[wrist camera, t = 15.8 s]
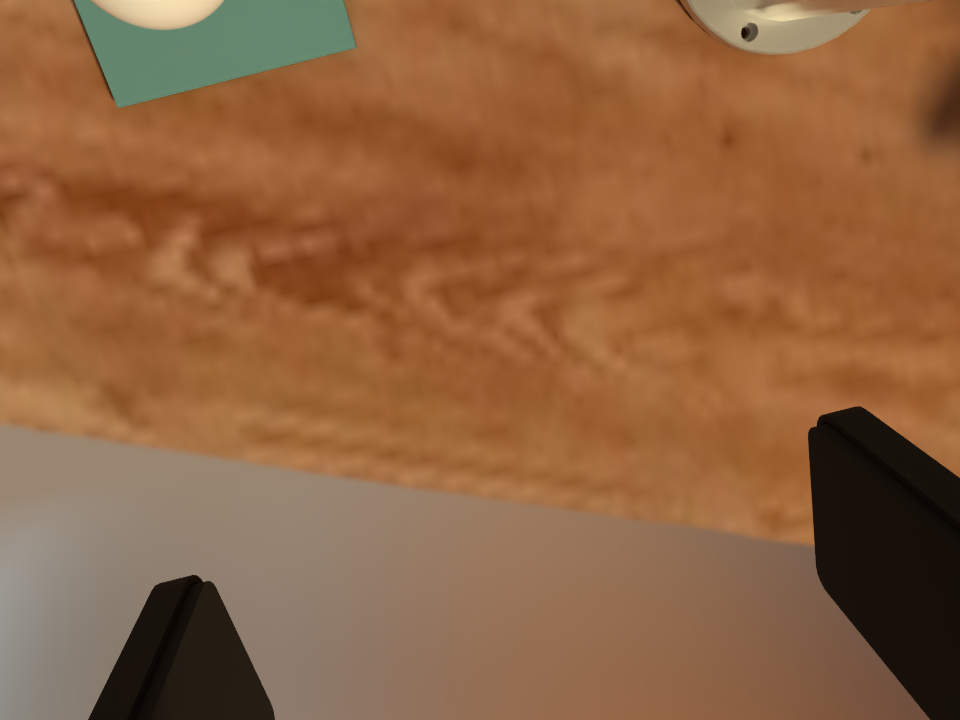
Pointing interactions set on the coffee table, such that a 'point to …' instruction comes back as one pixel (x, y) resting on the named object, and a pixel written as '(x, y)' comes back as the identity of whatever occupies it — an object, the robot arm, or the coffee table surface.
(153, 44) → the mat
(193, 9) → the lightbulb
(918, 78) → the coffee table surface
